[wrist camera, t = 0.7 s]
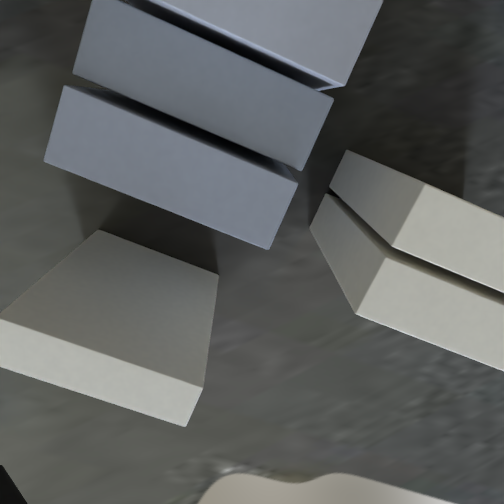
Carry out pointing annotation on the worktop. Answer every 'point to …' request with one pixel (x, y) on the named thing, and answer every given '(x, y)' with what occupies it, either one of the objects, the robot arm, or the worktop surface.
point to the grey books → (207, 102)
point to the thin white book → (116, 327)
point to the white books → (415, 258)
